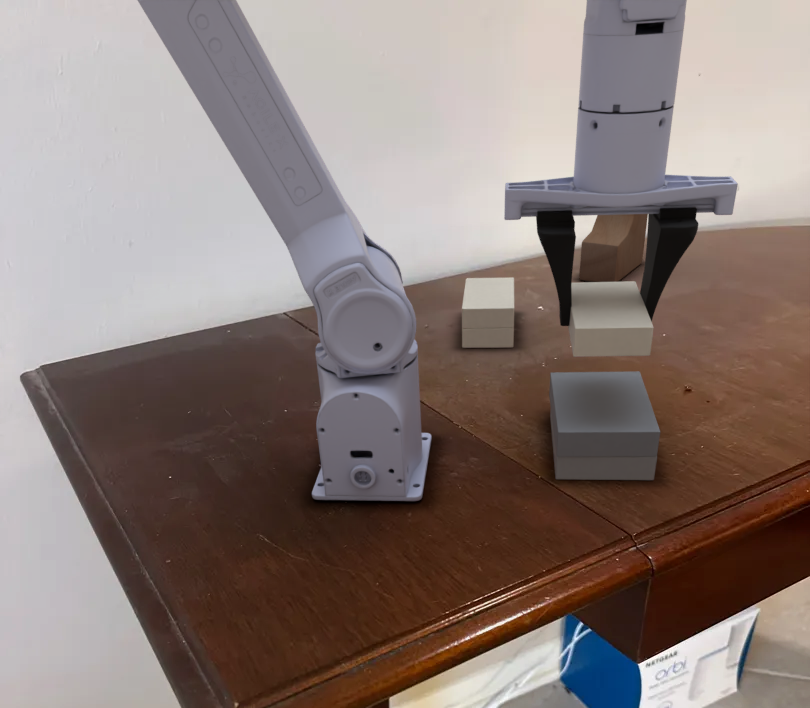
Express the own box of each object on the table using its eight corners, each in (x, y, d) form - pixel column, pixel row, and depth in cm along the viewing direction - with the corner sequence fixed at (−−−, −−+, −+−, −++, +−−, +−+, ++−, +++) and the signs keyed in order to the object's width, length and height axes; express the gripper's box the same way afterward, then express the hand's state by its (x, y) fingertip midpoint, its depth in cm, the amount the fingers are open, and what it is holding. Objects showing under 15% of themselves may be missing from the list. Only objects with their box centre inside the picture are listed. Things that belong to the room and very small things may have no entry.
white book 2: (513, 347, 79) (513, 328, 78) (462, 348, 80) (461, 328, 79) (513, 314, 87) (513, 296, 85) (466, 315, 87) (466, 296, 86)
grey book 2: (653, 480, 59) (657, 456, 57) (555, 479, 59) (557, 456, 58) (636, 416, 67) (639, 394, 65) (550, 416, 67) (551, 394, 66)
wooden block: (614, 286, 92) (632, 108, 82) (577, 280, 94) (590, 106, 84) (643, 263, 98) (662, 95, 88) (607, 258, 100) (622, 93, 90)
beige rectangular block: (650, 356, 54) (654, 326, 52) (573, 357, 54) (575, 328, 53) (632, 307, 61) (635, 281, 60) (564, 308, 61) (566, 282, 60)
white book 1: (513, 328, 78) (514, 307, 77) (461, 328, 79) (461, 308, 78) (513, 296, 85) (514, 277, 84) (466, 296, 86) (465, 278, 85)
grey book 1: (656, 456, 57) (660, 431, 56) (556, 456, 58) (558, 432, 57) (637, 394, 65) (639, 371, 64) (549, 395, 66) (550, 372, 65)
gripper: (734, 92, 52) (700, 299, 60) (507, 101, 54) (503, 302, 62) (760, 109, 47) (719, 336, 54) (506, 119, 48) (501, 337, 56)
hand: (604, 320), depth 58 cm, fingers closed on beige rectangular block, 5 cm apart
